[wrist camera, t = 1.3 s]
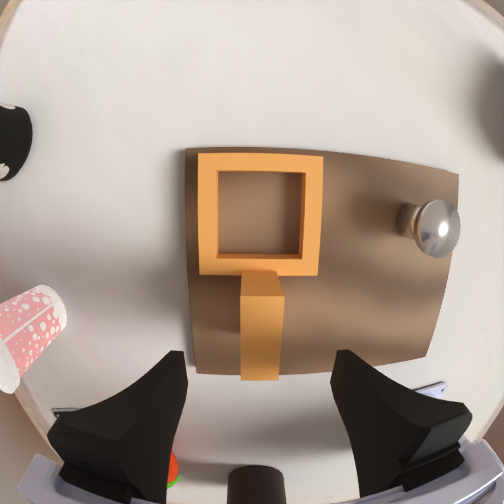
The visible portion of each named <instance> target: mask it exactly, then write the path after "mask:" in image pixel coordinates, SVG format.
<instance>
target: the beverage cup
mask: <svg viewBox="0 0 504 504" xmlns="http://www.w3.org/2000/svg"><path fill="white" fill-rule="evenodd" d="M66 322H67V315H66V309H65V307H64V305H63V302H62V300H61V299H60V297H59V296H58V295H57V293H56V292H55V291H54V290H53V289H51V288H50V287H49V286H46V285H42V284H41V285H39V286H36V287H34V288H32V289H30V290H28V291H26V292H24V293H22V294H19V295H17V296H15V297H13V298H11V299H9V300H7V301H5V302H3V303H1V304H0V389H1V390H2V391H3V392H5V393H10V394H12V393H13V392H14V391H15V389H16V388H17V387H18V386H19V384H20V378H21V377H22V376H23V374H24V373H25V372H26V371H27V369H28V368H29V367H30V366H31V365H32V363H33V362H34V361H35V360H36V359H37V358H38V356H39V355H40V354H41V353H42V352H43V351H44V349H45V348H46V347H47V346H48V345H49V344H50V343H51V342H52V340H53V339H54V338H55V337H56V336H57V335H58V334H59V333H60V332H61V331H62V329H63V328H64V327H65V326H66Z"/></svg>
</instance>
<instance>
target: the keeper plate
mask: <svg viewBox="0 0 504 504" xmlns="http://www.w3.org/2000/svg"><path fill="white" fill-rule="evenodd" d="M198 153H273V154H294V155H309V156H322V157H323V193H322V216H321V234H320V249H319V262H318V274H317V276H278V277H279V280H280V283H281V286H282V290H283V293H284V296H285V300H284V315H283V329H282V342H281V354H280V365H279V375H289V374H307V373H321V372H332V371H333V367H334V362H335V358H336V353H337V350H346V349H349V350H351V351H352V352H353V353H355V354H356V355H357V356H359V357H360V358H361V359H363V360H364V361H365V362H367V363H368V364H369V365H371V366H372V367H373V366H379V365H386V364H391V363H397V362H402V361H407V360H412V359H417V358H422V357H425V356H426V354H427V351H428V348H429V345H430V342H431V339H432V336H433V333H434V330H435V326H436V323H437V319H438V316H439V312H440V309H441V305H442V301H443V297H444V292H445V288H446V283H447V279H448V274H449V269H450V263H451V257H452V251H453V250H452V251H451V252H450V253H449V254H448V255H447V256H445V257H443V258H434V257H432V256H430V255H427V254H425V253H423V252H422V251H421V250H420V249H419V247H418V246H417V244H416V241H414V240H412V239H409V238H407V237H404V236H402V235H401V234H400V233H399V231H398V229H397V226H396V216H397V213H398V211H399V209H400V208H401V207H402V206H403V205H405V204H408V203H411V204H417V205H423V204H425V203H426V202H427V201H430V200H434V199H435V200H443V201H447V202H449V203H451V204H452V205H453V206H454V207H455V209H456V210H457V206H458V185H459V174H456V173H452V172H448V171H444V170H439V169H435V168H430V167H426V166H421V165H416V164H411V163H406V162H400V161H395V160H389V159H383V158H376V157H369V156H362V155H355V154H346V153H337V152H328V151H316V150H304V149H287V148H263V147H208V148H186V163H185V213H186V248H187V270H188V286H189V301H190V314H191V325H192V336H193V346H194V355H195V364H196V372H197V373H199V374H218V375H241V346H240V294H241V278H242V275H200V272H199V243H198ZM301 185H302V174H301V173H279V172H218V253H222V254H299V238H300V216H301Z"/></svg>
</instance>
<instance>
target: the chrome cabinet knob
mask: <svg viewBox="0 0 504 504" xmlns="http://www.w3.org/2000/svg"><path fill="white" fill-rule="evenodd" d="M396 226H397V229H398V231H399V233H400V234H401V235H402V236H404V237H407V238H409V239H412V240H414V241H416V244H417V246H418V247H419V249H420V250H421V251H422V252H423V253H425V254H427V255H430V256H432V257H434V258H443V257H445V256H447V255H448V254H449V253H450V252H451V251H452V250H453V249H454V247H455V246H456V244H457V241H458V239H459V235H460V219H459V215H458V212H457V210H456V209H455V207H454V206H453V205H452V204H451V203H449V202H447V201H443V200H435V199H434V200H430V201H427V202H426V203H425V204H423V205H417V204H411V203H408V204H405V205H403V206H402V207H401V208H400V209H399V211H398V213H397V216H396Z"/></svg>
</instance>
